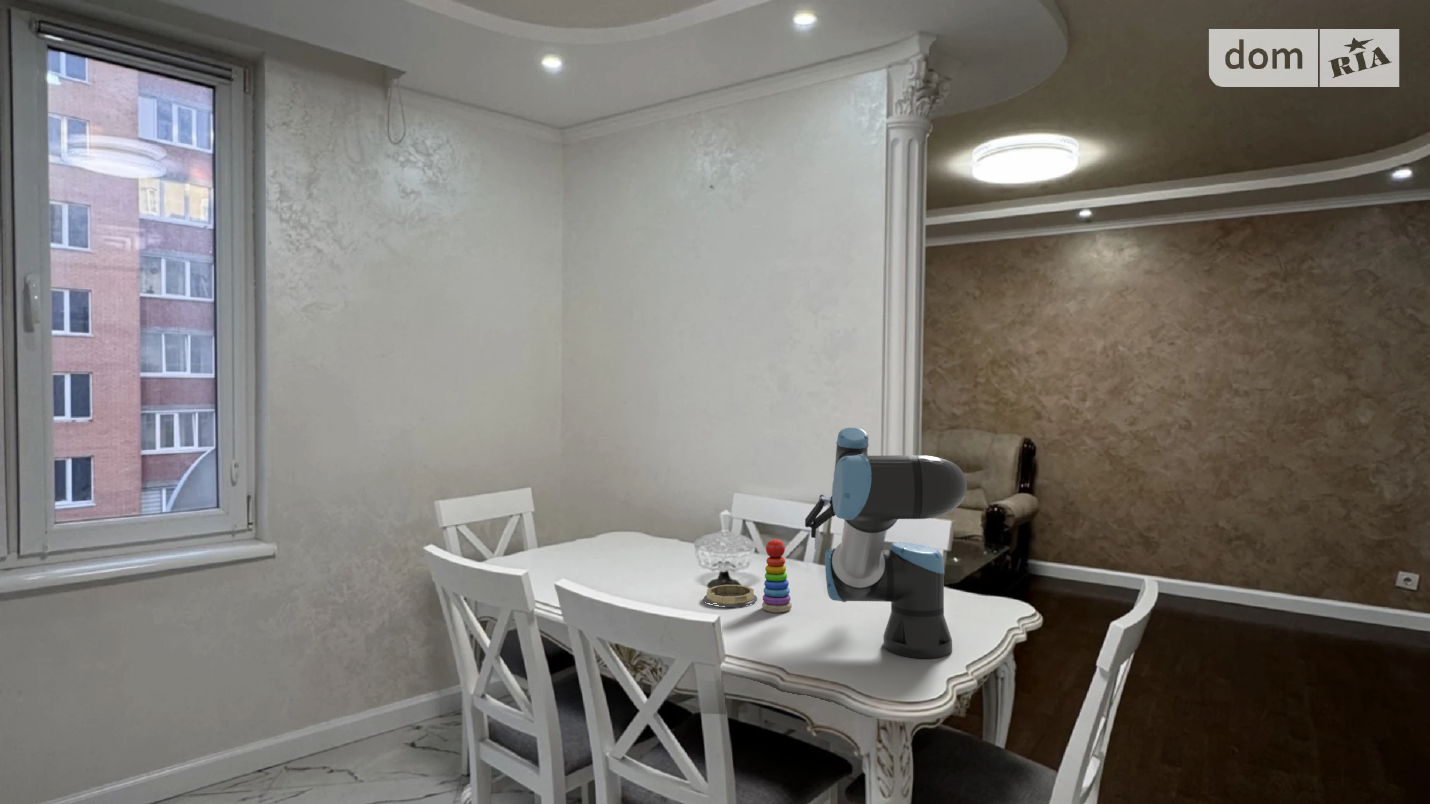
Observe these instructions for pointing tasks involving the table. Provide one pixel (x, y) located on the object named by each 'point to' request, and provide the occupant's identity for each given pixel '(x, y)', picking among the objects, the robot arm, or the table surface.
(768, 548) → the stacking toy
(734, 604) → the collar plate
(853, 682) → the table surface
